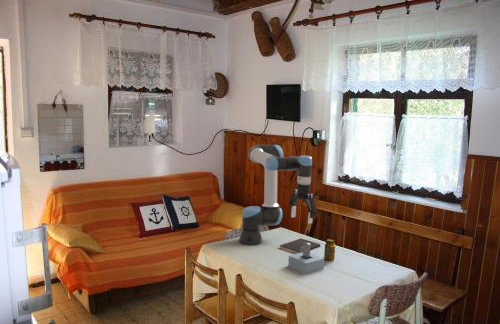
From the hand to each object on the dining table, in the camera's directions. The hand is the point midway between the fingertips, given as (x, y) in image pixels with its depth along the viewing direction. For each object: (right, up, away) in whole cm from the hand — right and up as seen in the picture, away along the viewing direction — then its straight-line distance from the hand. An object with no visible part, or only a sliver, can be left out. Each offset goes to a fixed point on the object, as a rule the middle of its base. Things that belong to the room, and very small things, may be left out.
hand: (301, 220), depth 233 cm
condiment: (+17, -26, +12) cm, 33 cm away
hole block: (+2, -26, -1) cm, 27 cm away
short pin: (+3, -24, +15) cm, 29 cm away
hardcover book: (+3, -23, +33) cm, 40 cm away
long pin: (+2, -26, -1) cm, 27 cm away
